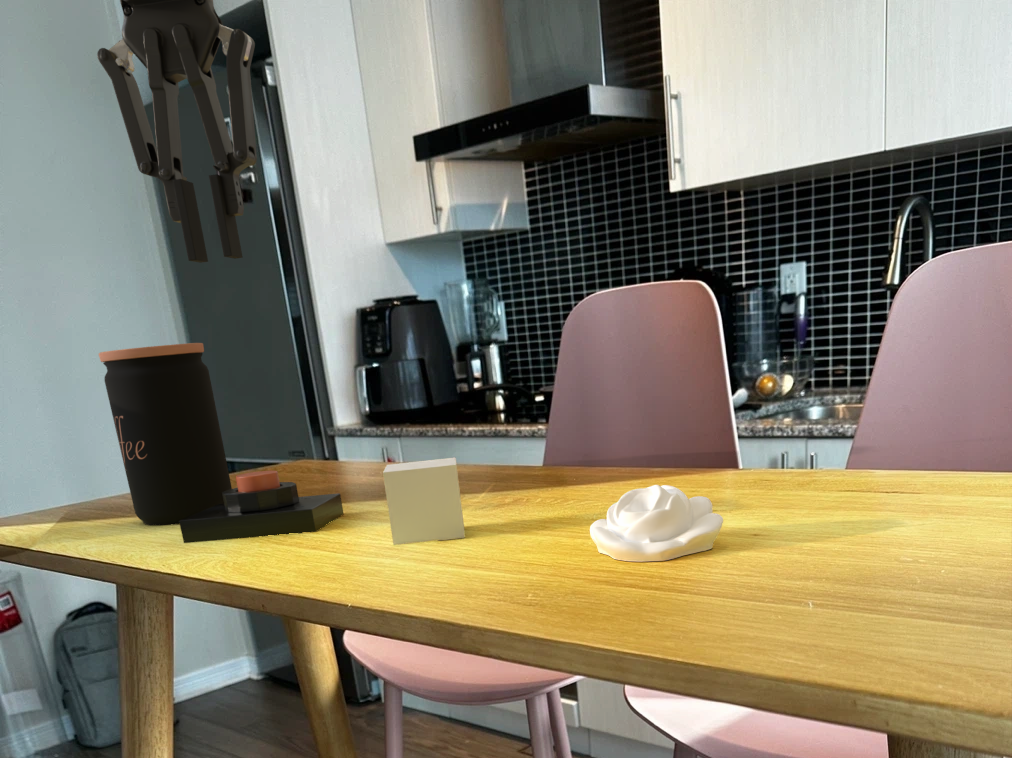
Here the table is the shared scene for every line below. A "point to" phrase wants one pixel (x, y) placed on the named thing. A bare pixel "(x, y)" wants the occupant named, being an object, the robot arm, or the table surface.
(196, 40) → the robot arm
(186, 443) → the coffee jar
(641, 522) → the rose
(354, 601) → the table surface
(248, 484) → the button
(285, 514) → the control block
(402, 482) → the beige cube
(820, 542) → the table surface
